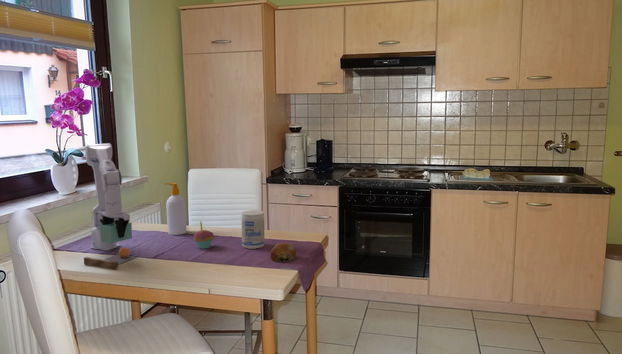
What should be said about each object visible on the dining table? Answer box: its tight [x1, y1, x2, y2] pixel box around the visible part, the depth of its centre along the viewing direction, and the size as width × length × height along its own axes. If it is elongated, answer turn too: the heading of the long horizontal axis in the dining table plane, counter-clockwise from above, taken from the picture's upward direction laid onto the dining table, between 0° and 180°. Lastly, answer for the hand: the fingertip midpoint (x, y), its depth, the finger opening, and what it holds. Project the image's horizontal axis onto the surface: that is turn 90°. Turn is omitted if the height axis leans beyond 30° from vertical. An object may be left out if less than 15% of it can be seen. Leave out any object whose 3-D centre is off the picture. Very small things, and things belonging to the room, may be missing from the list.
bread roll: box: [270, 242, 297, 263], centre depth 184 cm, size 10×10×8 cm
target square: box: [103, 253, 138, 266], centre depth 184 cm, size 10×10×1 cm
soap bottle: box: [164, 182, 188, 236], centre depth 221 cm, size 9×9×24 cm
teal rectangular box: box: [101, 221, 133, 243], centre depth 182 cm, size 6×10×6 cm, turn 153°
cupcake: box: [193, 220, 215, 249], centre depth 199 cm, size 9×8×12 cm
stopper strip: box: [83, 256, 119, 270], centre depth 176 cm, size 16×1×2 cm, turn 66°
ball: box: [118, 247, 130, 258], centre depth 186 cm, size 4×4×4 cm
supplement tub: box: [241, 209, 265, 250], centre depth 199 cm, size 10×10×15 cm
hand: (115, 236), depth 182 cm, fingers closed on teal rectangular box, 6 cm apart
